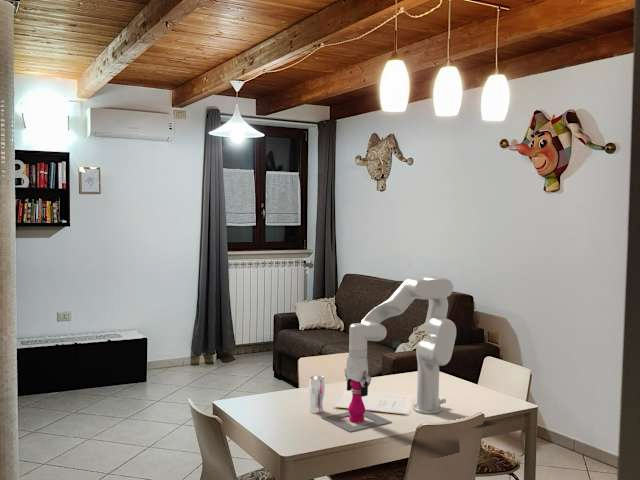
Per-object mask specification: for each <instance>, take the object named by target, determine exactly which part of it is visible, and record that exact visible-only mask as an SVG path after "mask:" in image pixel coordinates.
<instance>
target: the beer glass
mask: <svg viewBox="0 0 640 480" xmlns="http://www.w3.org/2000/svg"><path fill="white" fill-rule="evenodd" d="M325 383H326V382H325V376H322V375H311V376H309V381H308V391H309V392H308V393H309V399H310V407H309V412H310V413H311V414H321V413H323V412H324V406H323V405H324V404H323V402H324V396H325V391H326V390H325V389H326V388H325V387H326V384H325Z"/></svg>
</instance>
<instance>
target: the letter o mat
mask: <svg viewBox="0 0 640 480" xmlns="http://www.w3.org/2000/svg"><path fill="white" fill-rule="evenodd" d="M349 416H350V413H349V412H348V411H346V412H341V413H337V414H332V415H325V416H322V417H321V419H322V420H324V421H327V422H328V423H330V424H333V425H334V426H336V427H338V428H341V429H342V430H344V431H346V432H348V433H354V432H358V431H362V430H366V429H370V428H374V427H375V428H376V427H379V426H384V425H387V424H389V425H390V424H392V423H393V422H392V421H391V420H389V419H388V418H387V419H386V418H384V417H382V416H379V415H377V414H375V413H373V412H371V411H368V410H367V409H365V413H364V414H363V416H364V418H367V419H370V420H371V422H367V423H366V422H365V423H364V424H363V423H362V424H358V425H352V424H349V423H348V422H346V421H344V420H342V419H343V418H348V417H349Z"/></svg>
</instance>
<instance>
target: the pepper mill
mask: <svg viewBox="0 0 640 480" xmlns="http://www.w3.org/2000/svg"><path fill="white" fill-rule="evenodd" d="M363 383H365V381H364V382H363ZM350 385H351V387H352V389H351V390H350V392H351V394H352V395H351V396H352V398H351V401H350V404H349V406H348V409H347V410H348V411H347V412H349V413H350V416H348V417H349V418H348V419H349V422H351V423H358V424H359V423H363V422H364V421H365V417H364V416H363V414H364V413H365V410H366V406H365V404H364V403H365V402H364V401H363V397H362V396H361V387H362V385H361V383H360V382H356V381H354V380H351V382H350Z"/></svg>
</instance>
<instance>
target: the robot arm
mask: <svg viewBox="0 0 640 480" xmlns="http://www.w3.org/2000/svg"><path fill="white" fill-rule="evenodd" d="M453 292H454V284H453V282H452V281H451V280H450V279H448V278H446V277H439V276H434V275H426V276H424V277H423V278H422V279H421V278H417V277H408V278H405V280H404V281H403V282H402V283H401V284H400V285H399V287H397V289H396V290H394V292H393V293H392V294H391V296H390V297H389V298H388V299H387V300H385V301H383V302H382V303H380V304H379V305H377V306H375V307H374V308H373V309H371V310H370V311H369V312H368V313H367V314H366V315H365V317H363V318H362V320H361V322H357V323H351V324H350V325H349V329H348V330H349V332H348V333H349V335H348V336H349V337H348V342H349V343H348V344H349V345H348V347H349V348H348V355H347V360H346V367H345V368H344V375H345V380H346V391H348V392H349V391H350V392H351V391H352V390H351V389H352V387H351V385H350V382H351V380H354V381H356V382H360V383H361V385H362V387H361V396H362V398H363V397H367V396H368V394H369V393H368V392H369V386H370V384H371V382H372V377H371V376H370V375H369V365H368V364H369V363H368V341H370V342H380V341H383V340H384V339H385V338H386V336H387V333H388V332H387V328H386V327H385V326H384V325H383V324H381V323H382V322H383V321H386V319H390V318H392V317H396V316H400V315H402V314H403V313H404V312H405V311H406V310H407V309H408V307H409V306H410V305H411V304H412V303H413V301H414V300H415V299H417V300H418V299H419V300H428V308H427V314H426V319H425V322H424V327H423V328H424V329H423V330H424V333H425V334H426V335H427V336H429V337H432V338H433V339H429V338H426V339H422V340H420V341H419V342H418V343H417V345H416V348H415V349H416V350H415V351H416V352H415V353H416V360H417V388H416V389H417V392H416V393H417V394H416V403H415V404H414V405H413V406H412V407H413V410H414V411H415V412H418V413H421V414H428V415H433V414H440V413H441V412H442V411H443V408H442V406H441V405H442V404H446V403H447V400H446V398H441V399H440V397H439V395H440V394H439V392H440V366H441V367H442V366H446V365H447V364H448V363H449V362H450V361H451V359H452V355H453V353H454V351H453V350H454V347H455V343H456V342H455V341H456V339H457V327H456V324H455V322H454V321H452V320H450V319H448V318H447V315H448V310H449V301H448V297H450V296H452V294H453ZM434 339H435V340H434ZM363 382H364V383H363Z"/></svg>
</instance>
